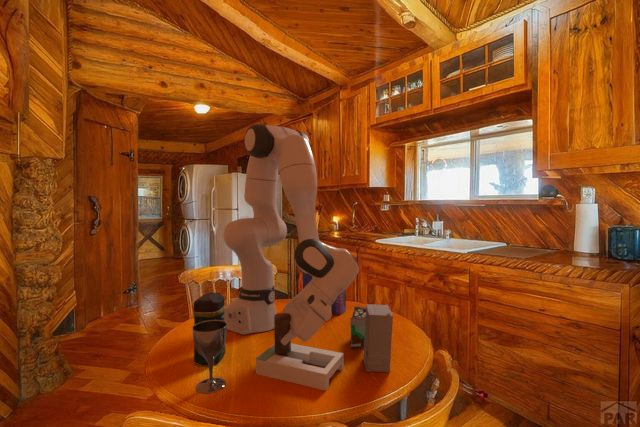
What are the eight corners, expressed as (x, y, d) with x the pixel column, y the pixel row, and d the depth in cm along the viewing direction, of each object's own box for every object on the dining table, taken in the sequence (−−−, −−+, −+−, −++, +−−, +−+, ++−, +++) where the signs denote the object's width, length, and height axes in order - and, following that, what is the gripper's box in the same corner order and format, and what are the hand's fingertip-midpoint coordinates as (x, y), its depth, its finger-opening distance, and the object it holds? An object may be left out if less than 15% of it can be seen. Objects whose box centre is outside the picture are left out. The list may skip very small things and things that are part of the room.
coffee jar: (219, 366, 94) (217, 299, 93) (190, 367, 94) (188, 299, 93) (229, 351, 104) (227, 290, 103) (202, 351, 104) (201, 290, 103)
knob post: (269, 368, 92) (269, 317, 92) (279, 360, 97) (279, 311, 96) (286, 372, 90) (286, 320, 90) (295, 363, 95) (295, 314, 94)
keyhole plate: (256, 373, 90) (255, 358, 90) (279, 354, 101) (279, 340, 101) (326, 390, 82) (326, 373, 82) (343, 367, 93) (343, 352, 93)
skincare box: (363, 358, 98) (362, 303, 98) (388, 358, 98) (388, 303, 97) (366, 373, 90) (366, 313, 89) (393, 373, 90) (393, 313, 89)
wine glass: (198, 377, 88) (197, 320, 88) (230, 376, 89) (229, 319, 88) (189, 395, 80) (188, 332, 80) (224, 393, 81) (223, 331, 80)
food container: (371, 352, 102) (371, 319, 101) (350, 351, 103) (350, 318, 102) (373, 336, 114) (373, 306, 113) (354, 334, 115) (354, 305, 114)
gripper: (298, 283, 105) (267, 318, 102) (316, 303, 85) (277, 347, 83) (313, 296, 106) (282, 331, 104) (333, 319, 86) (296, 362, 84)
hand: (280, 338), depth 93 cm, fingers closed on knob post, 4 cm apart
